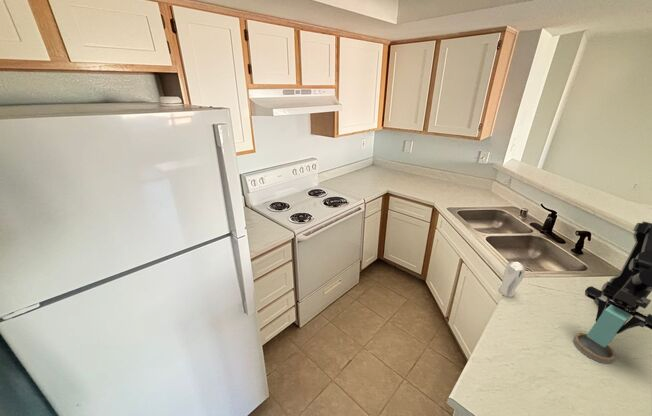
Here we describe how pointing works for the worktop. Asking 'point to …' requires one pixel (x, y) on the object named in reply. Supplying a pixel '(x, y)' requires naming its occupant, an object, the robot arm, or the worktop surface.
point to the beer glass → (511, 278)
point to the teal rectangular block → (608, 325)
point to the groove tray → (593, 349)
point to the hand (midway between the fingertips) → (606, 327)
